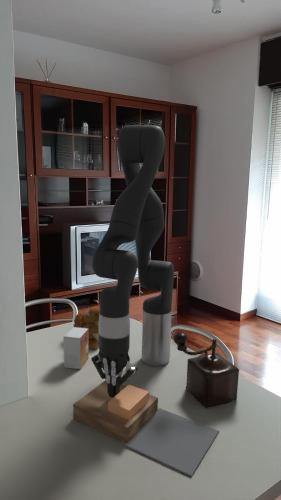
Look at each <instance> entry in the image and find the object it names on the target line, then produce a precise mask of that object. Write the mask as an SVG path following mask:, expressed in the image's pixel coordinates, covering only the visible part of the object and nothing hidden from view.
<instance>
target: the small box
mask: <svg viewBox="0 0 281 500" xmlns="http://www.w3.org/2000/svg"><path fill="white" fill-rule="evenodd" d="M89 349H90V348H89V329H87V328H78V327H74V326H73V327H71V328H70V329H69V331H68V332H67V333H66V334H65V335H63V368H64V369H74V370H81V369H82V368H83V366H84V365H85V364H86V362H87V361H88V360H89V357H90V354H89V353H90V352H89Z"/></svg>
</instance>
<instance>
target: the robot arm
mask: <svg viewBox="0 0 281 500" xmlns="http://www.w3.org/2000/svg"><path fill="white" fill-rule="evenodd" d="M117 139H118V140H117V141H118V142H117V145H118V154H119V157H120V163H121V167H122V170H123V174H124V178H125V183H126V187H125V189H124V190H123V191H122V192H121V193H120V194H119V195H118V197H117V199H116V201H115V203H114V205H113V209H112V212H111V216H110V221H109V224H108V227H107V230H106V232H105V234H104V235H103V236H102V240H101V241H100V243H99V244H98V246H97V248H96V249H95V252H94V254H93V258H92V262H91V263H92V264H91V266H92V271H93V273H94V275H95V276H97V277H99V278H101V279H102V278H103V279H109V280H115V281H117V283H116V286H109V287H106V288H103V289H101V291H100V293H99V310H100V316H99V343H98V353H97V354H95V355H93V356H92V357H91V358H90V359H91V361H92V364H93V365H94V368H95V369H96V371H97V372H98V375H99V376H100V378H101V379H102V380H104V379H105V380H106V382H107V383H108V387H107V389H108V390H107V392H108V394H109V397H111V398H113V397H115V396H116V395H117V394H118V393H119V392H120V385H122V384H123V385H124V384H125V383H126V382H127V381H128V380H129V379H130V378H131V377H132V376H133V375H134V374H135V373H136V372H137V371H138V369H139V367H138V366H137V365H133V364H132V363H131V362H130V361H131V359H130V355H129V351H130V343H131V341H130V339H131V332H130V331H131V329H130V328H131V319H130V297H131V292H132V288H133V284H134V281H135V279H136V278H135V277H136V275H137V276H138V277H137V278H138V282H139V285H140V287H142V288H143V289H147V290H153V291H160V294H158V295H156V296H152V297H151V296H150V297H147V298H146V299H144V300H143V302H142V323H141V325H142V327H141V328H142V329H141V331H142V332H141V361H142V362H143V363H144V364H145V365H149V366H153V367H161V366H165V365H167V364H168V363H169V362H170V357H171V342H172V341H171V338H172V308H173V307H172V306H173V292H174V283H175V282H174V280H175V266H174V264H173V263H172V262H171V261H166V260H165V261H164V260H155V259H154V260H153V259H151V255H150V254H151V251H152V249H153V247H154V246H155V244H156V242H157V241H158V240H159V238H160V237H161V236H162V234H163V231H164V228H165V215H164V214H165V213H164V206H163V203H162V201H161V199H160V197H159V196H158V193H156V192H155V190H154V188H152V185H153V183H154V181H155V179H156V176H157V173H158V170H159V167H160V165H161V162H162V160H163V157H164V152H165V146H166V139H165V133H164V131H163V129H162V127H160V126H158V125H155V124H154V125H152V124H150V125H149V124H148V125H147V124H146V125H144V124H143V125H142V124H141V125H140V124H138V125H125V126H122V128H120V130H119V132H118V138H117ZM141 164H142V165H141ZM134 241H135V248H136V255H135V253H134V252H132V251H130V250H126V249H119V247H120V246H121V245H123V244H129V243H133V242H134ZM124 369H125V370H124ZM123 373H124V374H123Z"/></svg>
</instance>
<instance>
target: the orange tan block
mask: <svg viewBox="0 0 281 500" xmlns="http://www.w3.org/2000/svg"><path fill="white" fill-rule="evenodd" d="M126 386H127V387H125V388H124V389H123V390H122V391H121V392H119V393H118V394H117V395H116V396H115V397H113V398H112V399H111V400H110V401H109V402H108V411H109V412H112V413H114V414H116V415H119V416H121V417H124V418H126V419H128V420H129V419H130V418H131V417H132V416H134V415H135V414H136V413H137V412H138V411H139V410H140V409H141V408H142V407H143V406H144V405H145V404H146V403H147V402H148V401H149V394H150V391H147V390H145V389H142V388H140V387H136V386H134V385H131V384H128V385H126Z"/></svg>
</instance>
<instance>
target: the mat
mask: <svg viewBox="0 0 281 500" xmlns="http://www.w3.org/2000/svg"><path fill="white" fill-rule="evenodd" d="M219 433H220V430H218V429H216V428H212V427H211V426H208V425H205V424H203V423H200V422H197V421H195V420H192V419H190V418H187V417H184V416H181V415H179V414H176V413H174V412H171V411H168V410H165V409H163V408H160V407H158V410H157V411H156V412H155V413H154V414H153V416H152V417H151V418H150V419H149V420H148V421H147V422H146V423H145V424H144V425H143V426H142V427H141V428H140V429H139V430H138V431H137V433H136V434H135V435H134V436H133V437H132V438H131V439H130V440H129V441H128V442H127V443H125V444H124V447H126V448H128V449H130V450H132V451H135V452H137V453H139V454H141V455H143V456H145V457H147V458H150V460H151V459H152V460H154V461H156V462H158V463H160V464H162V465H164V466H167V467H168V468H171V469H173V470H175V471H178V472H180V473H182V474H184V475H186V476H187V477H191V478H192V477H193V475H194V474H195V472H196V470H197V469H198V467H199V465H201V462H202V460H203V459H204V457H205V456H206V454H207V453H208V451H209V449H210V447H211V446H212V444H213V443H214V441H215V439H216V438H217V436H218V434H219Z"/></svg>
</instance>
